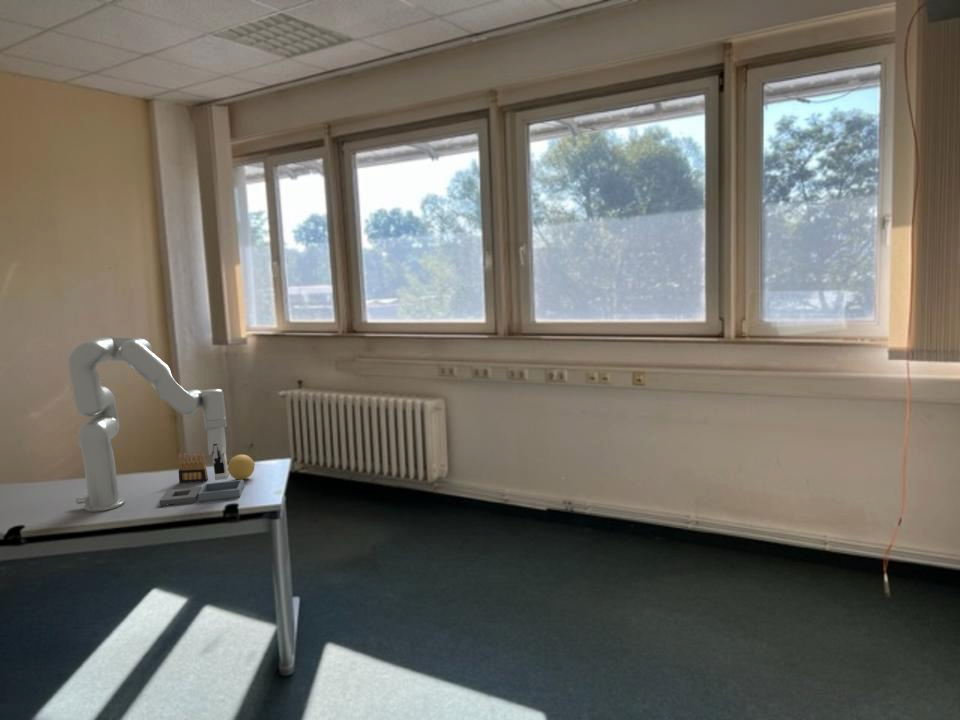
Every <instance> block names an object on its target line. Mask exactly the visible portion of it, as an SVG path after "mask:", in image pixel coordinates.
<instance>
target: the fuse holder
mask: <svg viewBox="0 0 960 720" xmlns="http://www.w3.org/2000/svg"><path fill="white" fill-rule="evenodd" d="M202 487H203V486H193V487H186V488H176V489H175V488H174V489H167V490H166V491H165V493H164V494H163V495H162V496H161V498H160V499H159V501H158V503H159V506H160V505H165V506H168V505H167V504H174V505H180V504H179V503H183V504H190V502H192V503H197V501H198V500H199V498H198V493H199V492H200V490H201V488H202ZM197 499H198V500H197Z"/></svg>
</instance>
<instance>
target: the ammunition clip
mask: <svg viewBox="0 0 960 720" xmlns="http://www.w3.org/2000/svg"><path fill="white" fill-rule="evenodd" d="M181 454H182V453H181V452H178V482H179V484H188V483H204V482H203V481H206V482H208V481H209V476H208V471H207V466H206V460H205V455H204V452H203V451H201V453H200V454H199V452H198V451H197V452H196V455H195V452H192V453H191V454H192V455H191V454H190V452H188V453H187V456H186V453H185V452H183V454H182V455H181ZM207 480H208V481H207Z"/></svg>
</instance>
